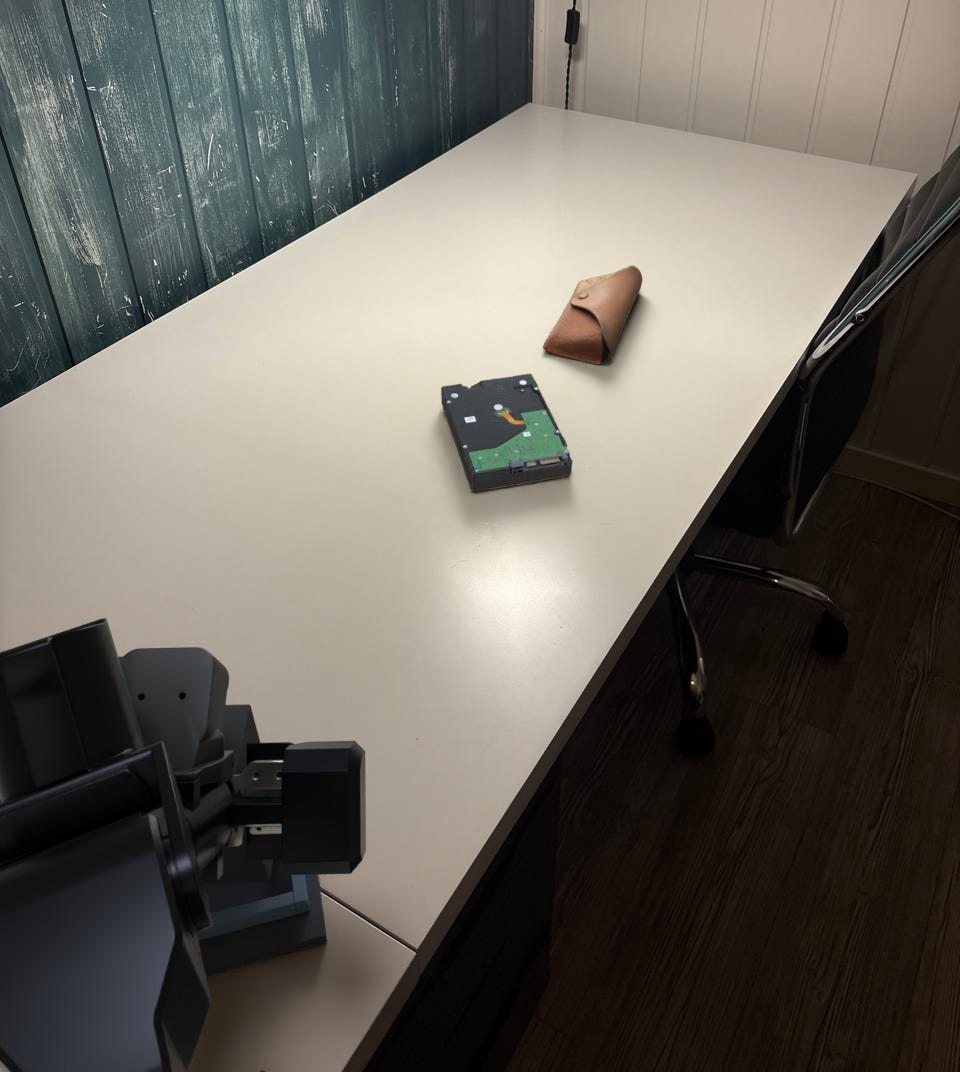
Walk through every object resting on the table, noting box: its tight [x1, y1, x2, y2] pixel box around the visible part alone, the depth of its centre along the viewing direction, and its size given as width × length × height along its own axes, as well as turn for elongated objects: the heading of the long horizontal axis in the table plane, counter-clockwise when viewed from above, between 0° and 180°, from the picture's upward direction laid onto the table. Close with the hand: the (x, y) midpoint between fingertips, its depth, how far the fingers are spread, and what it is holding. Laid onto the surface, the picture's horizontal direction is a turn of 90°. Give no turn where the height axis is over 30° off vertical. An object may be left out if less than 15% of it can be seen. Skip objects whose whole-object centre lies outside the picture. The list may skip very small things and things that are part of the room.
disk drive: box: [440, 373, 573, 492], centre depth 97 cm, size 10×3×15 cm
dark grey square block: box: [203, 703, 273, 884], centre depth 57 cm, size 4×4×12 cm
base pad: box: [197, 859, 328, 977], centre depth 62 cm, size 11×9×2 cm
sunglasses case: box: [542, 265, 644, 366], centre depth 115 cm, size 18×7×7 cm
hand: (225, 771), depth 57 cm, fingers closed on dark grey square block, 4 cm apart
